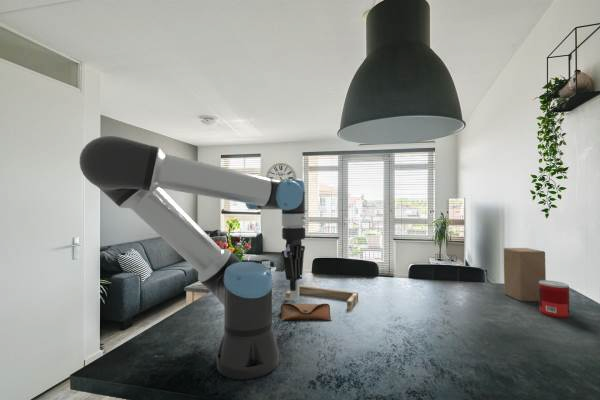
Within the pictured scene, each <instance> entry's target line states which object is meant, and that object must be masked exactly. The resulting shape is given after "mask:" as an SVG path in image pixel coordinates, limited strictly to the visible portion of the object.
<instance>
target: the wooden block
mask: <svg viewBox="0 0 600 400" xmlns="http://www.w3.org/2000/svg"><path fill="white" fill-rule="evenodd" d="M546 274H547V273H546V252H545V251H543V250H539V249H533V248H530V247H529V248H528V247H504V248H503V280H504V281H503V283H504V284H503V286H504V287H503V288H504V289H503V290H504V295H505V296H508V297H511V298H513V299H515V300H517V301H520V302H539V281H541V280H546V279H547V277H546Z"/></svg>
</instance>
